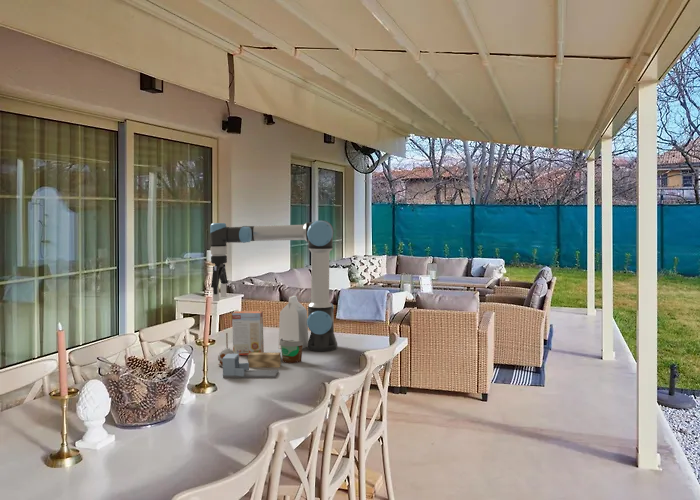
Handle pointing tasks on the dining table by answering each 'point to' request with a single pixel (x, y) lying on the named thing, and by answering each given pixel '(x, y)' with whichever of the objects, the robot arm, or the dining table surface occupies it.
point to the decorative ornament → (224, 352)
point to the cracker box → (247, 332)
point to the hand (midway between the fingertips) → (220, 299)
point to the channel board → (256, 374)
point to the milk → (293, 322)
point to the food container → (291, 351)
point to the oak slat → (264, 360)
